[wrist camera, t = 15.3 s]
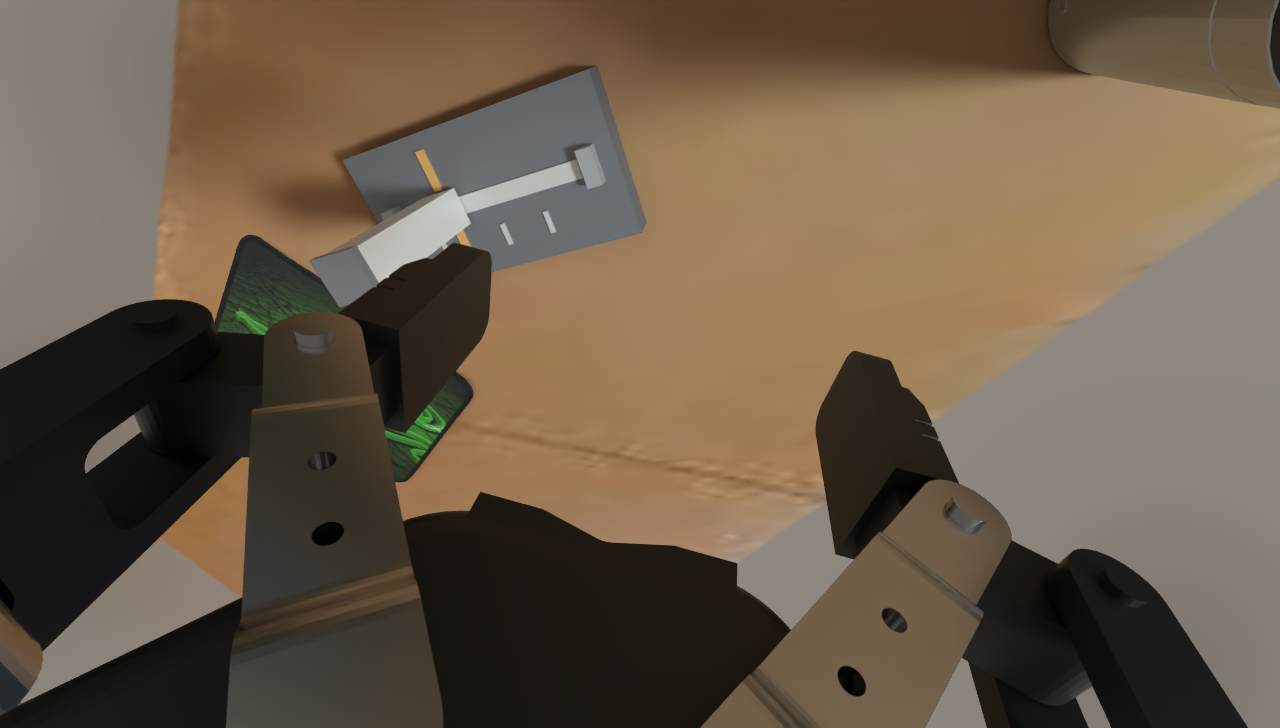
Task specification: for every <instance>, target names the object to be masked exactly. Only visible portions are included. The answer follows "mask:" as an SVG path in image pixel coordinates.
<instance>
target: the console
mask: <svg viewBox="0 0 1280 728" xmlns="http://www.w3.org/2000/svg"><path fill="white" fill-rule="evenodd" d="M342 161H343V163H344V164H345V166H346V168H347V170H348V171H349V173H350V175H351V177H352V178H353V180H354V182H355V184H356V186H357V187H358V189H359V191H360V193H361V194H362V196H363V198H364V200H365V201H366V203H367V205H368V207H369V208H370V210H371V212H372V214H373V215H374V217H375V219H376V221H377V222H378V224H379V223H380V222H382V221H384V220H386V219H387V218H389V217H391V216H393V215H394V214H396V213H398V212H400V211H401V210H403V209H405V208H406V207H408V206H410V205H412V204H413V203H415V202H417V201H419V200H420V199H422V198H424V197H427V196H430V195H433V194H437V193H440V192H443V191H446V190H449V189H452V188H454V189H455V191H456V193H457V195H458V197H459V200H460V202H461V204H462V206H463V208H464V210H465V212H466V214H467V216H468V218H469V220H470V222H471V224H470V225H468V226H467V227H466V228H465V229H463V230H462V231H461V232H459V233H458V234H457V235H455V236H454V237H453V238H452V239H450V240H449V241H448V242H446V243H445V244H444V245H442V246H441V247H440V248H439V249H437V250H436V251H435V252H433V253H432V254H431V255H429V256H428V257H427V258H429V259H433V258H434V257H436V256H437V255H438V254H439V253H441V252H442V251H443V250H444V249H446V248H447V247H448V246H450V245H451V244H452V243H459V244H463V245H467V246H470V247H474V248H478V249H481V250H485V251H488V252H489V253H490V254H491V258H492V269H491V272H493V271H497V270H501V269H505V268H509V267H513V266H516V265H520V264H524V263H528V262H532V261H536V260H539V259H543V258H547V257H551V256H555V255H558V254H562V253H566V252H570V251H574V250H578V249H581V248H585V247H589V246H593V245H597V244H601V243H604V242H608V241H612V240H616V239H620V238H624V237H627V236H631V235H635V234H639V233H642V231H643V228H644V226H645V224H646V220H645V217H644V214H643V211H642V207H641V204H640V201H639V198H638V195H637V192H636V188H635V185H634V182H633V179H632V176H631V173H630V169H629V166H628V163H627V160H626V157H625V154H624V150H623V147H622V144H621V141H620V138H619V134H618V131H617V128H616V125H615V122H614V119H613V115H612V112H611V109H610V106H609V103H608V100H607V96H606V93H605V90H604V87H603V84H602V81H601V77H600V74H599V71H598V68H597V66H595V67H593V68H590V69H587V70H584V71H582V72H579V73H576V74H574V75H571V76H568V77H566V78H563V79H560V80H557V81H555V82H552V83H549V84H547V85H544V86H541V87H539V88H536V89H533V90H531V91H528V92H525V93H522V94H520V95H517V96H514V97H512V98H509V99H506V100H504V101H501V102H498V103H496V104H493V105H490V106H487V107H485V108H482V109H479V110H477V111H474V112H471V113H469V114H466V115H463V116H460V117H458V118H455V119H452V120H450V121H447V122H444V123H442V124H439V125H436V126H434V127H431V128H428V129H425V130H423V131H420V132H417V133H415V134H412V135H409V136H407V137H404V138H401V139H399V140H396V141H393V142H390V143H388V144H385V145H382V146H380V147H377V148H374V149H372V150H369V151H366V152H364V153H361V154H358V155H355V156H353V157H350V158H347V159H345V160H342Z"/></svg>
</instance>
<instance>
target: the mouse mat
mask: <svg viewBox="0 0 1280 728" xmlns="http://www.w3.org/2000/svg"><path fill="white" fill-rule="evenodd" d="M347 306H348V305H347ZM347 306H343V307H339V306H338V304H337V303H336V301H335V300H334V298H333V297H332V295H331V294H330V292H329V291H328V289H327V288H326V286H325V285H324V283H323V282H322V280H321V278H319V277H317V276H316V275H315V274H314V273H312V272H310V271H309V270H307V269H305V268H303V267H302V266H300V265H299V264H297V263H295V262H294V261H292V260H291V259H289V258H288V257H286V256H284V255H283V254H282V253H281V252H279V251H278V250H277V249H275V248H274V247H272V246H271V245H269V244H268V243H267V242H265V241H264V240H262V239H261V238H260V237H258V236H255V235H247V236H245V237H243V238H242V239H241V240H240V242H239V244H238V247H237V249H236V253H235V257H234V260H233V263H232V266H231V270H230V273H229V276H228V280H227V283H226V286H225V290H224V293H223V296H222V300H221V303H220V306H219V310H218V313H217V317H216V319H215V322H214V324H215V327H216V330H217V332H231V333H246V334H261V335H265V333H266V332H267V330H268V329H269V328H270V327H271V326H272V325H274V324H275V323H277V322H278V321H280V320H282V319H285V318H287V317H290V316H294V315H298V314H303V313H311V312H328V313H335V314H337V313H339V312H340V311H341V310H343V309H344V308H346V307H347ZM472 397H473V390H472V387H471V386H470V384H469V383H468V382H467V381H466V380H465V379H464V378H463V377H462V376H460V375H459V374H457V373H456V372H455V373H454V374H453V375H452V376H451V377H450V379H449V380H448V381H447V382H446V384H445V385H444V386H443V387H442V389H441V390H440V391H439V392H438V394H437V395H436V396H435V397H434V399H433V400H432V401H431V402H430V403H429V405H428V406H427V407H426V408H425V410H424V411H423V412H422V413H421V415H420V416H419V417H418V418H417V420H416V421H415V422H414V423H413V424H412V426H411V427H410V428H409V429H408V431H407V432H406V433H402V432H398V431H395V430H391V429H387V428H384V429H385V434H386V439H387V444H388V449H389V454H390V459H391V464H392V469H393V474H394V479H395V482H405V481H407V480H409V479H410V477H411V476H412V475H413V474H414V473H415V472H416V471H417V469H418V468H419V467H420V465H421V464H422V463H423V461H424V460H425V459H426V458H427V457H428V455H429V454H430V452H431V451H432V450H433V448H434V447H435V446H436V445H437V443H438V442H439V440H440V439H441V438H442V437H443V435H444V434H445V433H446V431H447V430H448V429H449V428H450V427H451V425H452V424H453V423H454V421H455V420H456V418H457V417H458V416H459V415H460V413H461V412H462V411H463V410H464V409H465V407H466V406H467V405H468V404H469V402H470V401H471V399H472Z"/></svg>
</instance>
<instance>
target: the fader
mask: <svg viewBox="0 0 1280 728" xmlns="http://www.w3.org/2000/svg"><path fill="white" fill-rule="evenodd" d="M470 224H471V222H470V220H469V218H468V216H467V214H466V212H465V210H464V208H463V206H462V204H461V202H460V200H459V197H458V195H457V193H456V191H455V189H454V188H452V189H449V190H446V191H443V192H440V193H437V194H433V195H430V196H427V197H424V198H422V199H420V200H419V201H417V202H415V203H413V204H412V205H410V206H408V207H406V208H405V209H403V210H401V211H400V212H398V213H396V214H394V215H393V216H391V217H389V218H387V219H386V220H384V221H382V222H380V223H379V224H377V225H375V226H374V227H372V228H370V229H368V230H367V231H365V232H363V233H361V234H360V235H358V236H356V237H355V238H353V239H351V240H349V241H348V242H346V243H344V244H342V245H341V246H339V247H337V248H335V249H334V250H332V251H330V252H329V253H327V254H325V255H322V256H319V257H316V258H314V259H312V260H311V261H309V262H310V263H311V265H312V266H313V268H314V269H315V271H316V272H317V274H318V275H319V277H320V278H321V280H322V282H323V283H324V285H325V286H326V288H327V289H328V291H329V292H330V294H331V295H332V297H333V298H334V300H335V301H336V303H337V304H338V306H339V307H343V306H347V305H350V304H351V303H352V302H354V301H355V300H356V299H358V298H359V297H360V296H362V295H363V294H364V293H366V292H367V291H369V290H370V289H371V288H373V287H376V286H377V284H378V283H379V282H381V281H382V280H383V279H385V278H389V275H390V274H392V273H393V272H394V271H396V270H397V269H398V268H400V267H401V266H402V265H404V264H407V263H410V262H413V261H416V260H420V259H423V258H427V257H428V256H429V255H431V254H432V253H433V252H435V251H436V250H437V249H439V248H440V247H441V246H442V245H444V244H445V243H446V242H448V241H449V240H450V239H452V238H453V237H454V236H455V235H457V234H458V233H459V232H461V231H462V230H463V229H465V228H466V227H467V226H468V225H470Z"/></svg>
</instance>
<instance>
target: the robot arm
mask: <svg viewBox="0 0 1280 728" xmlns="http://www.w3.org/2000/svg"><path fill="white" fill-rule="evenodd" d="M1048 28H1049V34H1050V39H1051V42H1052V44H1053V46H1054V48H1055V50H1056V52H1057V54H1058V55H1059V56H1060V57H1061V58H1062V59H1063V60H1064V61H1065V63H1066V64H1068V65H1070V66H1071V67H1073V68H1075V69H1077V70H1078V71H1081V72H1085V73H1090V74H1094V75H1099V76H1104V77H1110V78H1115V79H1120V80H1124V81H1130V82H1135V83H1141V84H1146V85H1151V86H1157V87H1162V88H1168V89H1173V90H1179V91H1184V92H1190V93H1195V94H1200V95H1206V96H1211V97H1217V98H1222V99H1228V100H1233V101H1239V102H1244V103H1249V104H1255V105H1261V106H1268V107H1274V108H1279V109H1280V0H1050V4H1049V12H1048ZM491 269H492V258H491V254H490V253H489V252H488V251H485V250H481V249H478V248H474V247H470V246H467V245H463V244H459V243H452V244H451V245H450V246H448V247H447V248H446V249H444V250H443V251H442V252H441V253H439V254H438V255H437V256H436V257H434V258H433V259H429V258H423V259H420V260H416V261H413V262H410V263H407V264H404V265H402V266H401V267H400V268H398V269H397V270H396V271H394V272H393V273H392V274H390V275H389V278H385V279H383V280H382V281H381V282H379V283H378V284H377V286H376V287H373V288H371V289H370V290H369V291H367V292H366V293H364V294H363V295H362V296H360V297H359V298H358V299H356V300H355V301H354V302H352V303H351V304H350V305H348V306H347V307H346V308H344V309H343V310H341V311H340V312H339V313H337V314H335V313H328V312H311V313H303V314H298V315H294V316H290V317H287V318H285V319H282V320H280V321H278V322H277V323H275V324H274V325H272V326H271V327H270V328H269V329H268V330H267V332H266V333H265V335H261V334H246V333H231V332H217V330H216V327H215V324H214V320H213V317H212V314H211V312H210V311H209V309H207V308H206V307H204V306H202V305H200V304H198V303H194V302H190V301H185V300H172V299H164V300H152V301H145V302H139V303H135V304H131V305H128V306H124V307H122V308H119V309H116V310H114V311H112V312H110V313H108V314H106V315H104V316H102V317H101V318H98V319H97V320H95V321H93V322H91V323H89V324H87V325H85V326H83V327H81V328H79V329H77V330H76V331H73V332H71V333H70V334H68V335H66V336H64V337H62V338H60V339H58V340H56V341H54V342H53V343H50V344H48V345H46V346H45V347H43V348H41V349H39V350H37V351H35V352H33V353H31V354H29V355H27V356H26V357H24V358H22V359H20V360H18V361H16V362H14V363H12V364H10V365H8V366H6V367H4V368H3V369H0V728H925V727H926V725H927V723H928V721H929V719H930V717H931V715H932V713H933V712H934V709H935V708H936V706H937V704H938V702H939V700H940V698H941V696H942V694H943V692H944V691H945V689H946V687H947V685H948V683H949V681H950V679H951V677H952V675H953V673H954V671H955V669H956V667H957V665H958V664H959V662H960V660H961V658H963V659H965V660H967V661H968V663H969V666H970V670H971V673H972V677H973V680H974V684H975V687H976V690H977V694H978V698H979V701H980V705H981V708H982V712H983V715H984V719H985V722H986V726H987V728H1088V725H1087V723H1086V721H1085V718H1084V716H1083V714H1082V711H1081V709H1080V707H1079V704H1078V702H1077V700H1076V697H1077V696H1078V695H1080V694H1081V693H1083V692H1084V691H1086V690H1087V689H1089V688H1090V687H1092V686H1093V688H1094V690H1095V693H1096V695H1097V697H1098V699H1099V701H1100V703H1101V706H1102V708H1103V710H1104V712H1105V714H1106V717H1107V719H1108V721H1109V723H1110V726H1111V728H1248V727H1247V726H1246V724H1245V723H1244V721H1243V719H1242V718H1241V716H1240V715H1239V713H1238V712H1237V710H1236V709H1235V707H1234V706H1233V704H1232V703H1231V701H1230V700H1229V698H1228V697H1227V695H1226V694H1225V692H1224V690H1223V689H1222V688H1221V686H1220V684H1219V683H1218V681H1217V680H1216V678H1215V677H1214V675H1213V674H1212V672H1211V671H1210V669H1209V667H1208V666H1207V664H1206V663H1205V662H1204V660H1203V658H1202V657H1201V655H1200V654H1199V652H1198V651H1197V649H1196V648H1195V646H1194V645H1193V643H1192V642H1191V640H1190V638H1189V637H1188V636H1187V634H1186V632H1185V631H1184V630H1183V628H1182V627H1181V625H1180V623H1179V622H1178V620H1177V619H1176V617H1175V616H1174V614H1173V613H1172V611H1171V610H1170V608H1169V606H1168V605H1167V604H1166V602H1165V601H1164V599H1163V598H1162V597H1161V596H1160V595H1159V593H1158V592H1157V591H1156V590H1155V589H1154V588H1153V587H1152V586H1151V585H1150V584H1149V583H1148V582H1147V581H1146V580H1144V579H1143V578H1142V577H1141V576H1140V575H1138V574H1137V573H1135V572H1134V571H1133V570H1132V569H1130V568H1129V567H1127V566H1126V565H1124V564H1123V563H1121V562H1119V561H1117V560H1116V559H1114V558H1112V557H1109V556H1107V555H1105V554H1103V553H1100V552H1097V551H1093V550H1089V549H1077V550H1074V551H1073V552H1071V553H1070V554H1069V555H1068V556H1067V557H1066V558H1065V559H1064V560H1062V561H1061V562H1060V563H1059V564H1057V563H1055V562H1053V561H1051V560H1049V559H1047V558H1045V557H1043V556H1041V555H1039V554H1037V553H1035V552H1033V551H1031V550H1029V549H1027V548H1025V547H1023V546H1021V545H1019V544H1017V543H1016V542H1014V541H1012V540H1011V531H1010V528H1009V526H1008V524H1007V522H1006V520H1005V519H1004V517H1003V516H1002V515H1001V513H1000V512H999V511H998V510H997V509H996V508H995V507H994V506H993V505H992V504H991V503H990V502H989V501H987V500H986V499H985V498H983V497H982V496H981V495H979V494H978V493H976V492H974V491H973V490H971V489H969V488H967V487H965V486H963V485H961V484H959V482H958V480H957V478H956V476H955V473H954V471H953V469H952V467H951V465H950V462H949V460H948V458H947V456H946V453H945V451H944V449H943V447H942V445H941V442H939V441H938V435H937V433H936V431H935V429H934V427H931V425H932V422H931V420H930V418H929V415H928V413H927V411H926V409H925V407H924V405H923V404H922V403H921V402H920V401H919V400H918V399H917V398H916V397H915V396H914V395H913V394H912V392H911V391H910V390H909V389H907V388H904V387H902V386H901V384H900V382H899V379H898V377H897V374H896V372H895V369H894V367H893V365H892V363H891V361H890V360H887V359H884V358H880V357H876V356H872V355H869V354H865V353H861V352H857V351H853V352H851V353H850V354H849V355H848V357H847V358H846V360H845V362H844V364H843V365H842V367H841V369H840V371H839V373H838V375H837V377H836V379H835V381H834V382H833V384H832V386H831V388H830V390H829V392H828V394H827V396H826V398H825V399H824V401H823V403H822V405H821V407H820V410H819V413H818V416H817V421H816V438H817V444H818V450H819V456H820V463H821V469H822V475H823V481H824V487H825V493H826V499H827V505H828V511H829V517H830V524H831V530H832V535H833V541H834V548H835V554H837V555H840V556H844V557H847V558H851V559H854V560H853V562H852V563H851V564H850V565H849V566H848V567H847V568H846V570H845V571H844V572H843V573H842V574H841V575H840V576H839V577H838V578H837V580H836V581H835V582H834V583H833V584H832V585H831V586H830V587H829V588H828V590H827V591H826V592H825V593H824V594H823V595H822V596H821V597H820V598H819V600H818V601H817V602H816V603H815V604H814V605H813V606H812V607H811V608H810V610H809V611H808V612H807V613H806V614H805V615H804V616H803V617H802V619H801V620H800V621H799V622H798V623H797V624H796V625H795V626H794V627H793V629H792V630H790V629H789V627H788V626H787V625H786V624H785V623H784V622H783V621H782V620H781V619H780V618H779V617H778V616H777V615H776V614H775V613H774V612H773V611H772V610H771V609H770V608H768V607H767V606H766V605H765V604H764V603H762V602H761V601H760V600H759V599H757V598H756V597H754V596H753V595H751V594H750V593H748V592H747V591H746V590H744V589H742V588H740V587H738V586H737V563H734V562H730V561H727V560H723V559H720V558H716V557H712V556H709V555H705V554H702V553H698V552H694V551H691V550H687V549H684V548H680V547H677V546H669V545H649V544H628V543H610V542H605V541H601V540H599V539H597V538H595V537H593V536H591V535H590V534H588V533H586V532H584V531H582V530H580V529H578V528H577V527H575V526H573V525H571V524H569V523H567V522H566V521H564V520H562V519H560V518H558V517H556V516H554V515H553V514H551V513H549V512H547V511H545V510H543V509H540V508H536V507H533V506H529V505H526V504H522V503H518V502H515V501H511V500H508V499H504V498H500V497H497V496H493V495H490V494H486V493H482V492H480V493H479V495H478V497H477V499H476V501H475V502H474V504H473V506H472V508H471V510H470V511H447V512H439V513H432V514H426V515H422V516H418V517H415V518H411V519H408V520H405V521H403V519H402V514H401V509H400V504H399V499H398V494H397V489H396V484H395V479H394V474H393V469H392V464H391V459H390V454H389V449H388V444H387V439H386V434H385V429H384V428H387V429H391V430H395V431H398V432H402V433H406V432H407V431H408V429H409V428H410V427H411V426H412V424H413V423H414V422H415V421H416V420H417V418H418V417H419V416H420V415H421V413H422V412H423V411H424V410H425V408H426V407H427V406H428V405H429V403H430V402H431V401H432V400H433V399H434V397H435V396H436V395H437V394H438V392H439V391H440V390H441V389H442V387H443V386H444V385H445V384H446V382H447V381H448V380H449V379H450V377H451V376H452V375H453V374H454V373H455V371H456V370H457V369H458V368H459V366H460V365H461V364H462V363H463V361H464V360H465V359H466V358H467V356H468V355H469V354H470V353H471V351H472V350H473V349H474V348H475V347H476V345H477V344H478V343H479V342H480V340H481V339H482V337H483V335H484V333H485V330H486V327H487V323H488V319H489V307H490V288H491ZM132 415H134V416H135V418H136V420H137V422H138V425H139V427H140V429H141V432H140V433H139V434H137V435H136V436H135V437H134V438H132V439H131V440H130V441H128V442H127V443H126V444H125V445H124V446H122V447H120V448H119V449H118V450H116V451H115V452H114V453H113V454H111V455H110V456H109V457H107V458H106V459H105V460H103V461H102V462H101V463H99V464H98V465H97V466H96V467H94V468H93V469H91V470H90V471H89V472H87V473H86V474H85V469H84V467H85V460H86V457H87V455H88V453H89V451H90V449H91V448H92V447H93V445H94V444H95V443H96V442H97V441H98V440H99V439H100V438H102V437H103V436H104V435H106V434H107V433H108V432H110V431H111V430H113V429H114V428H115V427H117V426H118V425H119V424H121V423H122V422H124V421H125V420H127V419H128V418H129V417H131V416H132ZM241 457H249V472H248V492H247V513H246V533H245V553H244V574H243V594H242V598H240V599H238V600H236V601H234V602H232V603H230V604H227V605H225V606H223V607H221V608H219V609H217V610H215V611H213V612H211V613H209V614H207V615H205V616H203V617H201V618H199V619H196V620H194V621H192V622H190V623H188V624H186V625H184V626H182V627H180V628H178V629H176V630H174V631H172V632H169V633H167V634H166V635H163V636H161V637H160V638H157V639H155V640H153V641H151V642H149V643H147V644H145V645H143V646H140V647H138V648H136V649H134V650H132V651H130V652H128V653H126V654H124V655H122V656H120V657H118V658H116V659H113V660H111V661H109V662H107V663H105V664H103V665H101V666H99V667H97V668H95V669H93V670H91V671H89V672H87V673H85V674H83V675H80V676H78V677H76V678H74V679H72V680H70V681H68V682H66V683H64V684H62V685H60V686H57V687H55V688H53V689H51V690H49V691H47V692H45V693H43V694H41V695H39V696H37V697H35V698H33V699H30V700H28V701H26V702H24V703H21V700H22V699H23V698H24V697H25V696H26V694H27V693H28V692H29V691H30V689H31V687H32V686H33V684H34V683H35V681H36V679H37V677H38V675H39V672H40V670H41V666H42V661H43V653H42V652H43V651H44V650H45V649H46V648H47V647H48V646H49V645H50V644H51V643H52V642H53V641H54V640H55V639H56V638H57V637H58V636H59V635H60V634H61V633H62V632H63V631H64V630H65V629H66V628H67V627H68V626H69V625H70V624H71V623H72V622H73V621H74V620H75V619H76V618H77V617H78V616H79V615H80V614H81V613H82V612H83V611H85V609H86V608H88V607H89V606H90V604H92V603H93V602H94V601H95V600H96V599H97V598H98V597H99V596H100V595H101V594H102V593H103V592H104V591H105V590H106V589H107V588H108V587H109V586H110V585H111V584H112V583H113V582H114V581H115V580H116V579H117V578H118V577H119V576H120V575H121V574H122V573H123V572H124V571H125V570H127V569H128V568H129V567H130V565H132V564H133V563H134V562H135V561H136V560H137V559H138V558H139V557H140V556H141V555H142V554H143V553H144V552H145V551H146V550H147V549H148V548H149V547H150V546H151V545H152V544H153V543H154V542H155V541H156V540H157V539H158V538H159V537H160V536H161V535H162V534H163V533H164V532H165V531H166V530H167V529H168V528H170V527H171V526H172V525H173V524H174V523H175V522H176V521H177V520H178V519H179V518H180V517H181V516H182V515H183V514H184V513H185V512H186V511H187V510H188V509H189V508H190V507H191V506H192V505H193V504H194V503H195V502H196V501H197V500H198V499H199V498H200V497H201V496H202V495H203V494H204V493H205V492H206V491H207V490H208V489H209V488H210V487H211V486H213V485H214V484H215V483H216V482H217V481H218V480H219V479H220V478H221V477H222V476H223V475H224V474H225V473H226V472H227V471H228V470H229V469H230V468H231V467H232V466H233V465H234V464H235V463H236V462H237V461H238V460H239V459H240V458H241Z"/></svg>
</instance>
